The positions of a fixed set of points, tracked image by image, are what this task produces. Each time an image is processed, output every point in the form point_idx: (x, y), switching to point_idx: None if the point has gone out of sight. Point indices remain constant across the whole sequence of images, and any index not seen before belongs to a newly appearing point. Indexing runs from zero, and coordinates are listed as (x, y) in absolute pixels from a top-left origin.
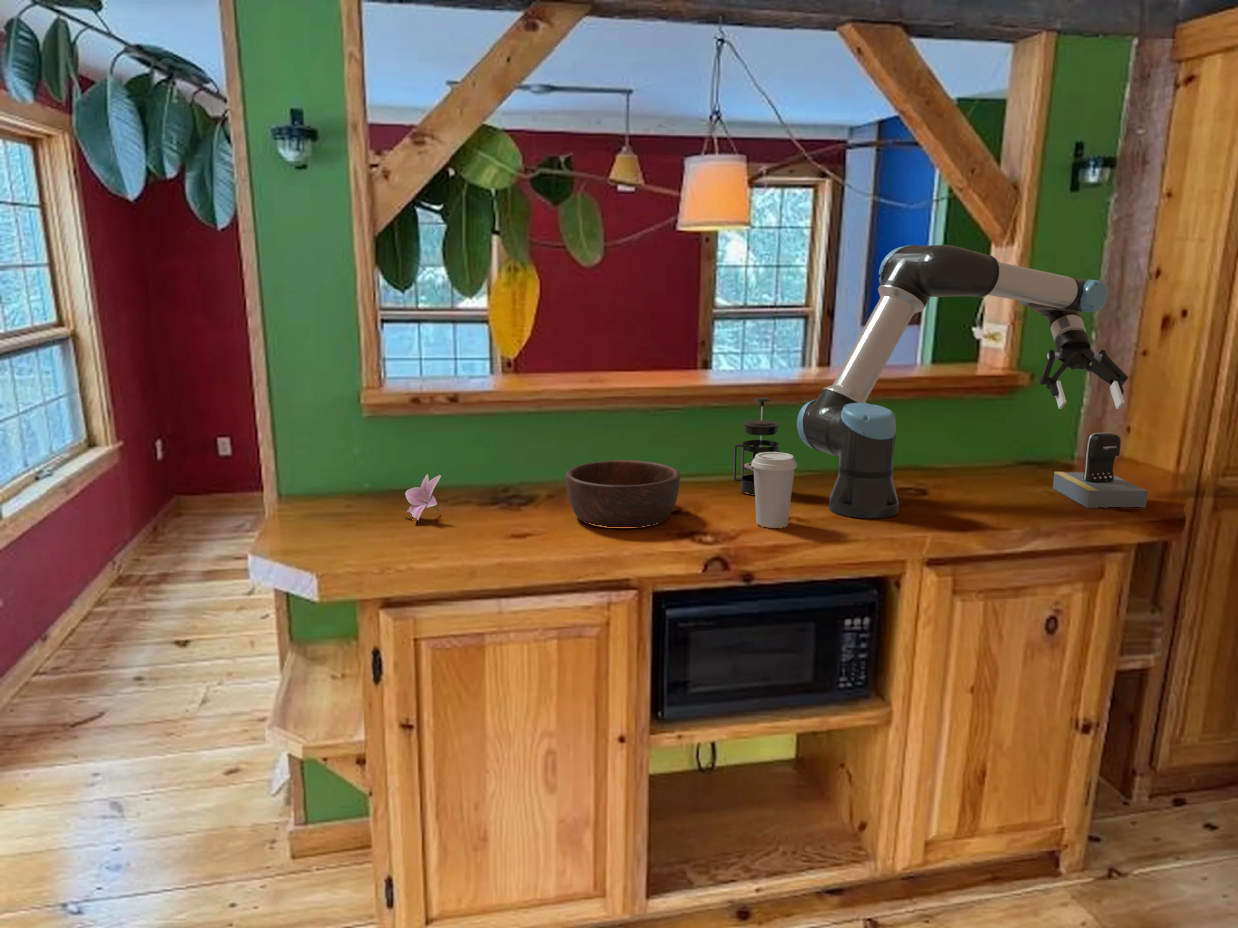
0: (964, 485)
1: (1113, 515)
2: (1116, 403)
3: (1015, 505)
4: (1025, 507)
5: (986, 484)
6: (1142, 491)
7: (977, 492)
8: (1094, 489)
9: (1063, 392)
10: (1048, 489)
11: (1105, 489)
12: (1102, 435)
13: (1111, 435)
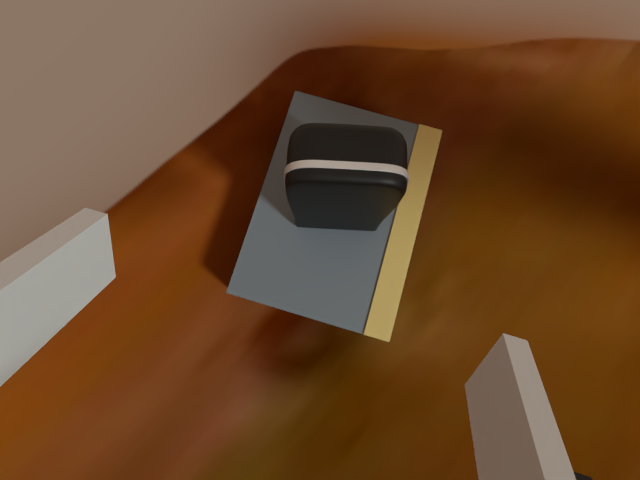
0: (612, 439)
1: (413, 88)
2: (88, 283)
3: (583, 213)
4: (569, 192)
5: None
6: (308, 95)
7: (614, 353)
8: (424, 131)
9: (530, 425)
10: (400, 330)
11: None
12: (381, 131)
13: (337, 127)
